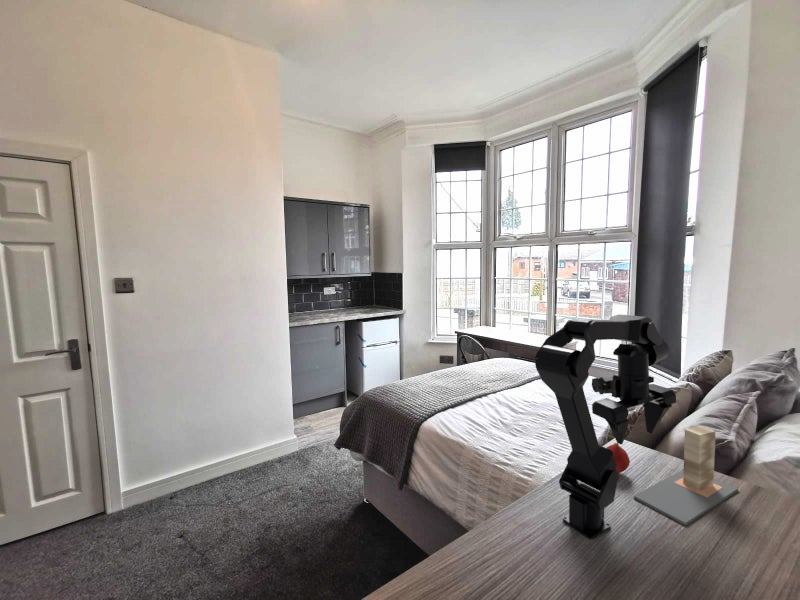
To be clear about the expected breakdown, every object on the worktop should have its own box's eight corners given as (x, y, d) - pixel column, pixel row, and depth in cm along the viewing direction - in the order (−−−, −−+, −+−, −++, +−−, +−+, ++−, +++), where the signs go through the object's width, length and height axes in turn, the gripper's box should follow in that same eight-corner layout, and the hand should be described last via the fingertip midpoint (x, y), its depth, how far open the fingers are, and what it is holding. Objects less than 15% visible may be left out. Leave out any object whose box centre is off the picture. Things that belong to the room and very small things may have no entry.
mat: (685, 525, 73) (685, 522, 73) (633, 498, 82) (633, 495, 82) (738, 490, 83) (738, 487, 83) (687, 469, 92) (687, 467, 92)
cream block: (698, 491, 82) (700, 435, 81) (683, 483, 85) (684, 429, 84) (713, 486, 84) (715, 431, 83) (698, 478, 87) (700, 425, 86)
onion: (597, 470, 93) (597, 440, 92) (612, 464, 96) (612, 434, 95) (619, 482, 88) (619, 450, 87) (634, 475, 90) (635, 444, 90)
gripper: (631, 354, 92) (632, 414, 94) (571, 370, 86) (574, 433, 88) (677, 366, 81) (678, 432, 83) (613, 385, 75) (615, 456, 77)
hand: (635, 437), depth 83 cm, fingers open, 9 cm apart
